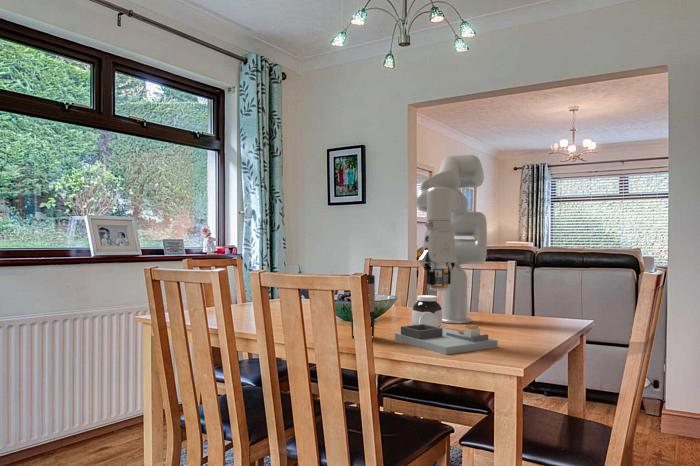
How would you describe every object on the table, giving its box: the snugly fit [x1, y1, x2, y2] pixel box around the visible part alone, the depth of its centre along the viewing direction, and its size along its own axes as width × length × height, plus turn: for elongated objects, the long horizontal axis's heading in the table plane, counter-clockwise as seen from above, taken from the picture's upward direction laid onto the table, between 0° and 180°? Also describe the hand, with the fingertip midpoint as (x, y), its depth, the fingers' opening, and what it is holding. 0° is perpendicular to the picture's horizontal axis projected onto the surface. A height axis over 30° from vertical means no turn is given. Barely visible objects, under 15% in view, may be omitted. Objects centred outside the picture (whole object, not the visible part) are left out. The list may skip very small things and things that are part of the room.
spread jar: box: [411, 294, 443, 328], centre depth 183 cm, size 12×11×12 cm
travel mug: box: [350, 274, 376, 339], centre depth 169 cm, size 8×8×20 cm
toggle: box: [463, 324, 481, 338], centre depth 158 cm, size 3×4×4 cm
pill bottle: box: [429, 263, 448, 292], centre depth 164 cm, size 6×6×10 cm
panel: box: [394, 324, 498, 355], centre depth 161 cm, size 24×20×4 cm
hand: (438, 283), depth 164 cm, fingers closed on pill bottle, 5 cm apart
